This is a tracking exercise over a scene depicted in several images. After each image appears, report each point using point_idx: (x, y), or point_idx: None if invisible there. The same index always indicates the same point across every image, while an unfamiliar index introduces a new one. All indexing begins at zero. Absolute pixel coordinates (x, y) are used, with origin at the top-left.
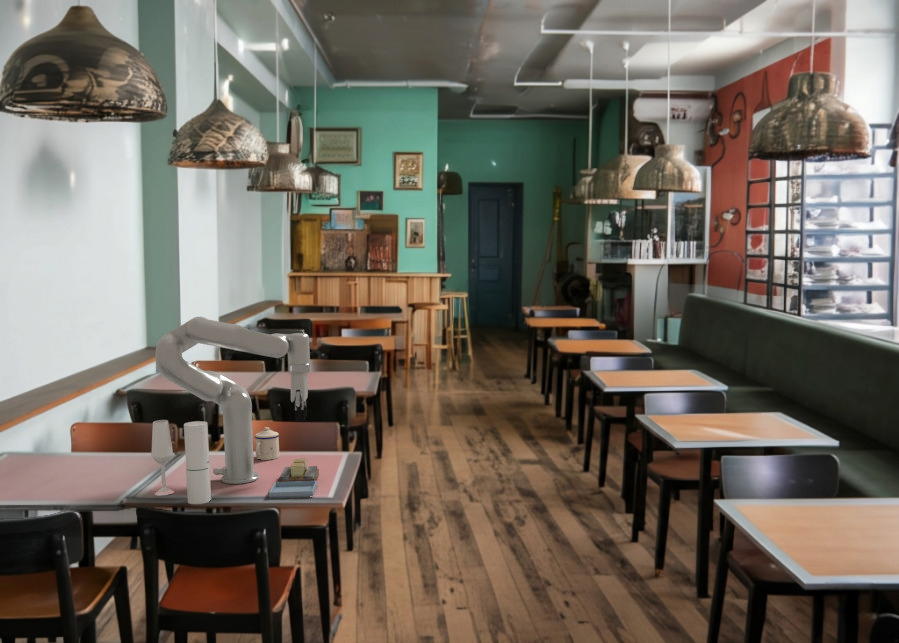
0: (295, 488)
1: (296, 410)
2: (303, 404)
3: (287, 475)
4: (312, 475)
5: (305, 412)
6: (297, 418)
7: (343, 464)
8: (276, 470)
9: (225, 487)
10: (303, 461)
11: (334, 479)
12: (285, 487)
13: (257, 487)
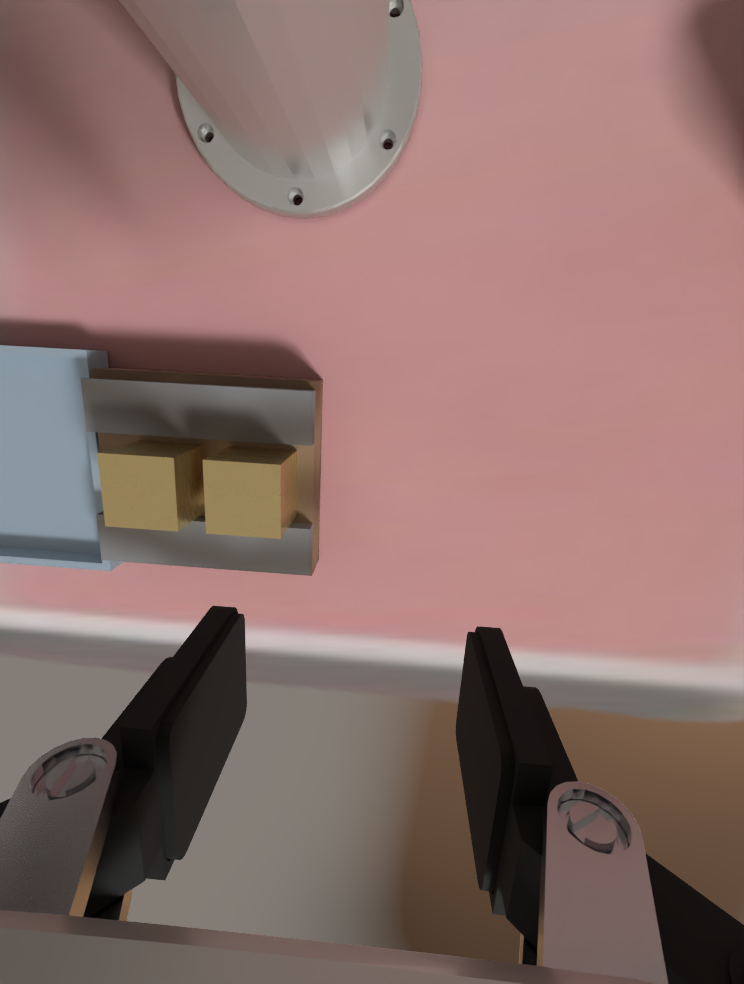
0: (60, 463)
1: (71, 762)
2: (534, 929)
3: (114, 422)
4: (113, 558)
5: (468, 790)
6: (162, 663)
7: (519, 667)
8: (480, 313)
9: (122, 10)
10: (208, 524)
11: (245, 628)
12: (76, 410)
13: (120, 242)
